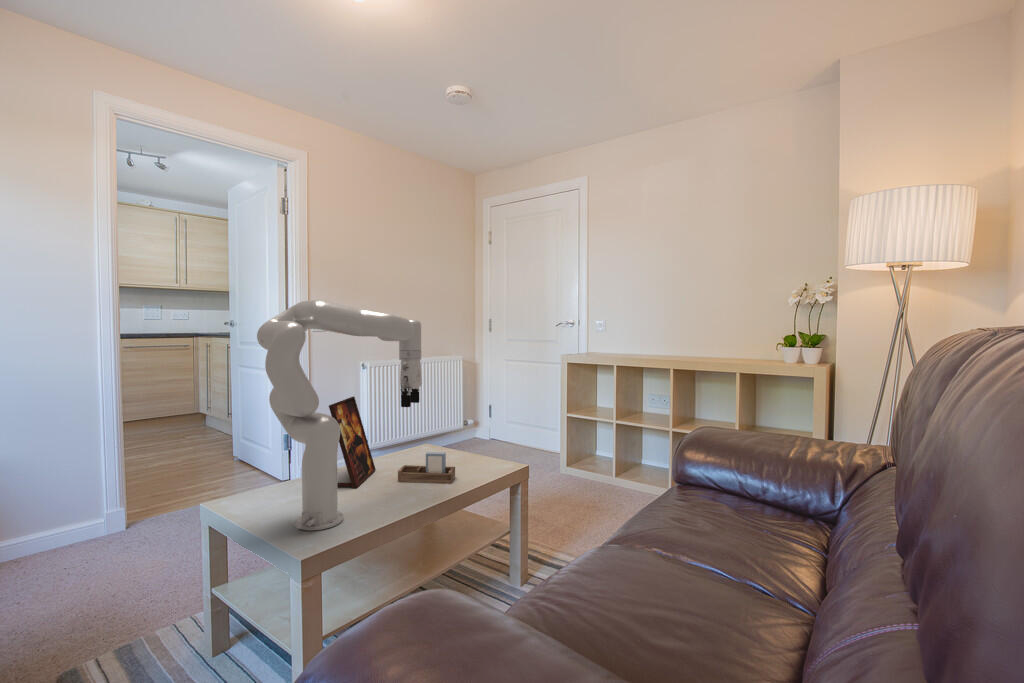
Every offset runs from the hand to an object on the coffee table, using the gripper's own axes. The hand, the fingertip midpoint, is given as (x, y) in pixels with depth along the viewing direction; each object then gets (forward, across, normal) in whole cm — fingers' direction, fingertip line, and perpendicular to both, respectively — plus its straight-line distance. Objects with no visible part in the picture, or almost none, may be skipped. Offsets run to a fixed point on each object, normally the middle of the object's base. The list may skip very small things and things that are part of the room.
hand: (410, 404), depth 160 cm
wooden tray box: (+30, +13, -2) cm, 33 cm away
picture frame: (+31, +11, +26) cm, 42 cm away
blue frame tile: (+29, +13, -5) cm, 32 cm away
